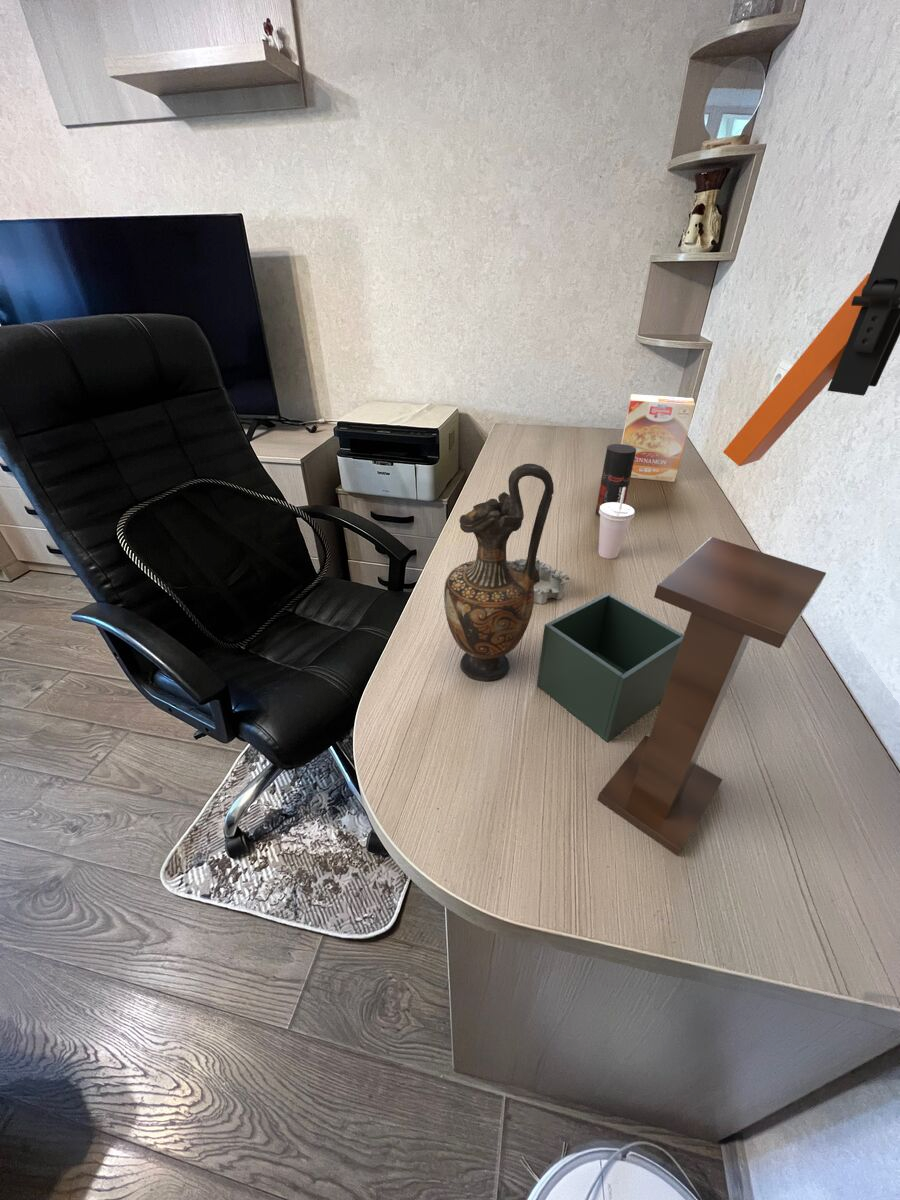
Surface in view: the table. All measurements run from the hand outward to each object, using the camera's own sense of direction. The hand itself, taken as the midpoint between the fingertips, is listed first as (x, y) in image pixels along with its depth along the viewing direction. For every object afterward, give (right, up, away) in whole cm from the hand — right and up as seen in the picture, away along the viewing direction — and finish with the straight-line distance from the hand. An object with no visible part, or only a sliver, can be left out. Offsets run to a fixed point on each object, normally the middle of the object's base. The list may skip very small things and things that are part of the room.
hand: (852, 387), depth 46 cm
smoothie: (-6, -11, +53) cm, 55 cm away
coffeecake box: (+15, +14, +88) cm, 91 cm away
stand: (-14, -41, +10) cm, 44 cm away
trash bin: (-16, -32, +22) cm, 42 cm away
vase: (-31, -29, +27) cm, 50 cm away
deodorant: (-1, 0, +69) cm, 69 cm away
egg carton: (-22, -17, +44) cm, 52 cm away
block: (-3, +3, +3) cm, 5 cm away
